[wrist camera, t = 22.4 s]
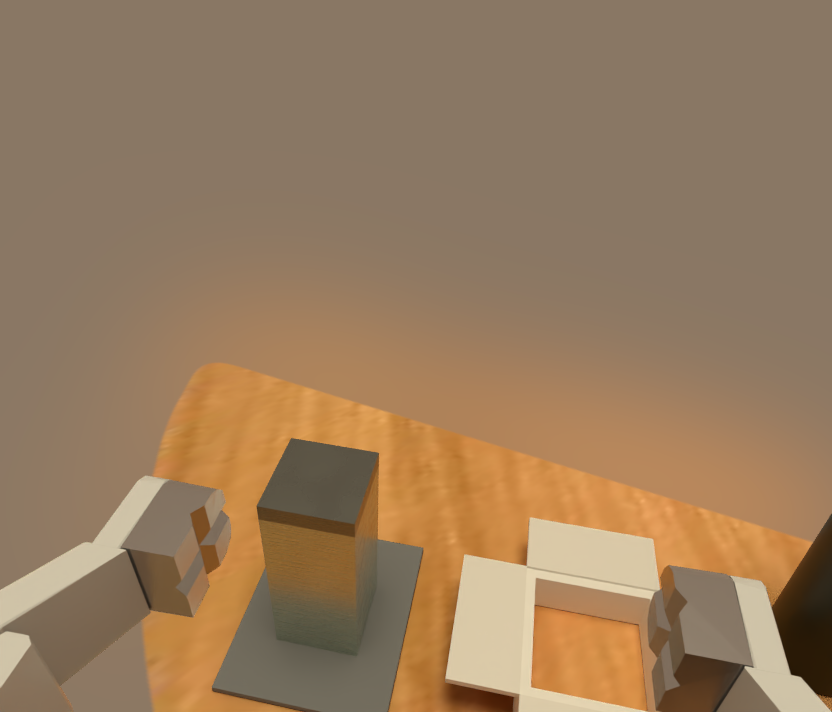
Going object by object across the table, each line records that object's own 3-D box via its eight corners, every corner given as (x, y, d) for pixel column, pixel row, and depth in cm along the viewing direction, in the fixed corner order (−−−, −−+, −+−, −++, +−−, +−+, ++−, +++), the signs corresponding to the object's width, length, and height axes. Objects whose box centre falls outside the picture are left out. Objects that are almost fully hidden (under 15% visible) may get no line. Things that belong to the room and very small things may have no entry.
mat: (423, 551, 45) (423, 547, 45) (384, 729, 35) (384, 725, 35) (286, 526, 46) (285, 522, 46) (212, 690, 37) (211, 687, 36)
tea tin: (376, 584, 42) (378, 452, 35) (356, 656, 38) (354, 524, 31) (303, 570, 43) (291, 438, 36) (276, 639, 39) (256, 506, 32)
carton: (701, 577, 44) (715, 549, 42) (757, 859, 31) (780, 836, 30) (467, 535, 46) (471, 507, 45) (429, 783, 33) (433, 757, 32)
